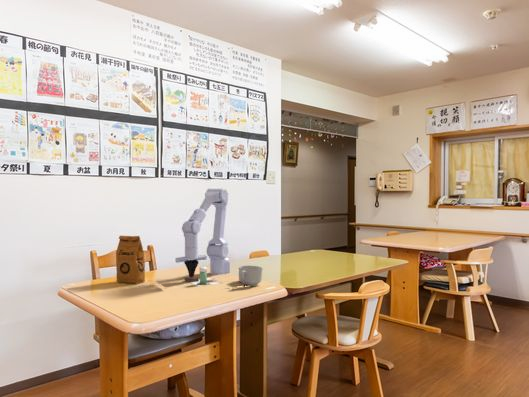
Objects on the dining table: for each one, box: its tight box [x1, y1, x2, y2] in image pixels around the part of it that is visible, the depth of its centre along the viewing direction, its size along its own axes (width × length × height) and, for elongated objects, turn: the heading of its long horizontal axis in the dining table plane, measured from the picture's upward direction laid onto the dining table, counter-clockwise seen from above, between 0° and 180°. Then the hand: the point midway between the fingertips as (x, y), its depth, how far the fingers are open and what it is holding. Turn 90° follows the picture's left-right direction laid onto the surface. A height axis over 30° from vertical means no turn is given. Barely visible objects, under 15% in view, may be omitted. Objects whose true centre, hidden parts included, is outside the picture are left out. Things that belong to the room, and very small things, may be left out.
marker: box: [199, 266, 208, 284], centre depth 172 cm, size 3×3×7 cm
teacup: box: [238, 264, 264, 287], centre depth 175 cm, size 14×11×8 cm
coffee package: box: [115, 235, 146, 285], centre depth 182 cm, size 10×12×22 cm
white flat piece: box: [184, 276, 223, 287], centre depth 177 cm, size 13×15×3 cm
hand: (191, 276), depth 178 cm, fingers closed, pressing on done button
